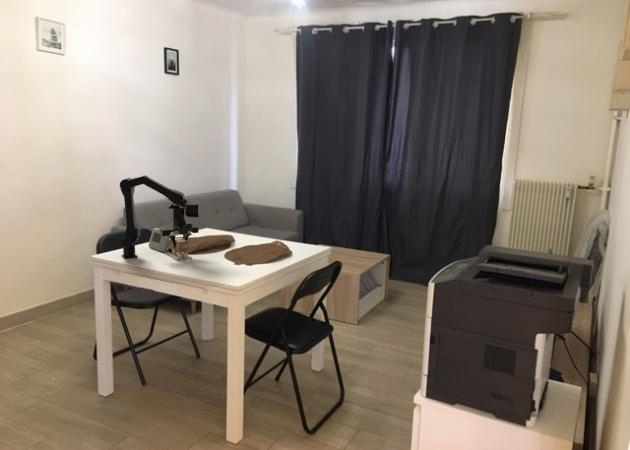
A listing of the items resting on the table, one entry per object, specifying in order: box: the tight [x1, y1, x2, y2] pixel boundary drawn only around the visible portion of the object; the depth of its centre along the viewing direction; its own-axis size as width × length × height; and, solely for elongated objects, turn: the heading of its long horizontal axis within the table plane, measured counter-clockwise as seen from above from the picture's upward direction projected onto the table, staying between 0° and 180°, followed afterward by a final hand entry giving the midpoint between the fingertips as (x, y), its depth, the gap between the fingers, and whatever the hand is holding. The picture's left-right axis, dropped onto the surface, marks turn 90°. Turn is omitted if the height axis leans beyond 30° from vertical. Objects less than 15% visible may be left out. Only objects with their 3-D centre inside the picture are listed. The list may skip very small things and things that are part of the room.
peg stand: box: [168, 248, 192, 261], centre depth 258 cm, size 12×8×3 cm, turn 34°
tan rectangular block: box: [170, 236, 189, 253], centre depth 257 cm, size 12×4×5 cm, turn 34°
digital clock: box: [148, 227, 171, 253], centre depth 271 cm, size 16×9×11 cm, turn 34°
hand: (179, 247), depth 258 cm, fingers closed on tan rectangular block, 4 cm apart
